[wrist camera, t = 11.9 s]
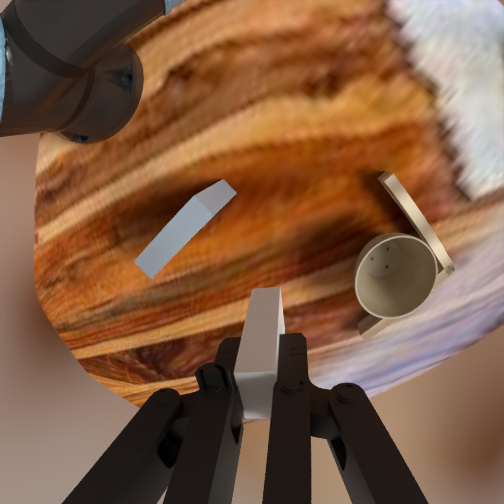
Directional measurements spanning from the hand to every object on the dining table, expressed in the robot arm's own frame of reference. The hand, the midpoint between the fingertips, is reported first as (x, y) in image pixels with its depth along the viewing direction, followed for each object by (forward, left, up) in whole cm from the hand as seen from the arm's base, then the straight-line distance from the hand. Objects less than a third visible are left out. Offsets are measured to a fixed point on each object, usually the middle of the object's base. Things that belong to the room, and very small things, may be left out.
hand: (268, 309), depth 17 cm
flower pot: (+13, +6, -23) cm, 26 cm away
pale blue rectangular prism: (-7, -7, -22) cm, 24 cm away
